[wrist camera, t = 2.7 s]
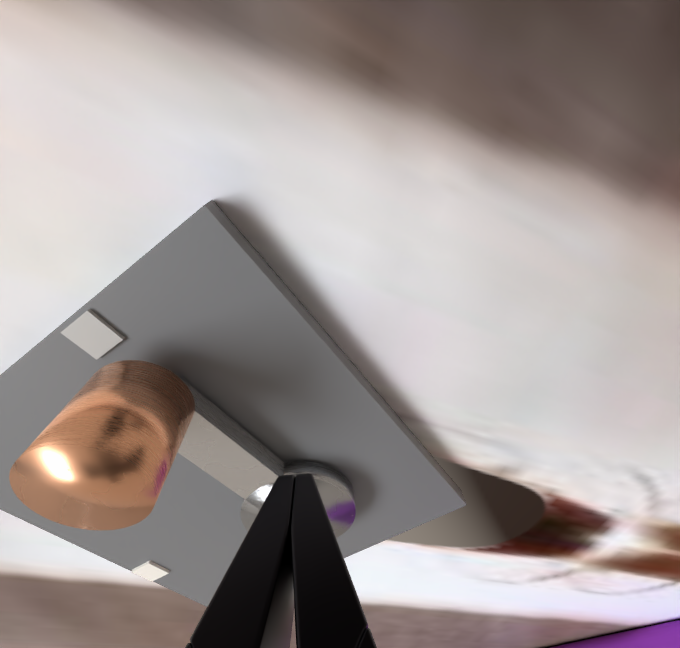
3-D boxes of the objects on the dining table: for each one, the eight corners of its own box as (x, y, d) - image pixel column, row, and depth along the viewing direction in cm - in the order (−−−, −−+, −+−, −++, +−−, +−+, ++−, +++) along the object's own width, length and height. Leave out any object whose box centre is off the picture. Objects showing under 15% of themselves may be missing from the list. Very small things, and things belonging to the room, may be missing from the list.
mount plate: (212, 199, 12) (202, 206, 11) (460, 489, 21) (467, 507, 20) (-82, 443, 17) (-106, 463, 16) (222, 596, 26) (218, 615, 25)
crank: (374, 502, 20) (390, 608, 15) (291, 541, 21) (284, 648, 17) (165, 314, 13) (90, 406, 9) (66, 389, 15) (-40, 499, 10)
